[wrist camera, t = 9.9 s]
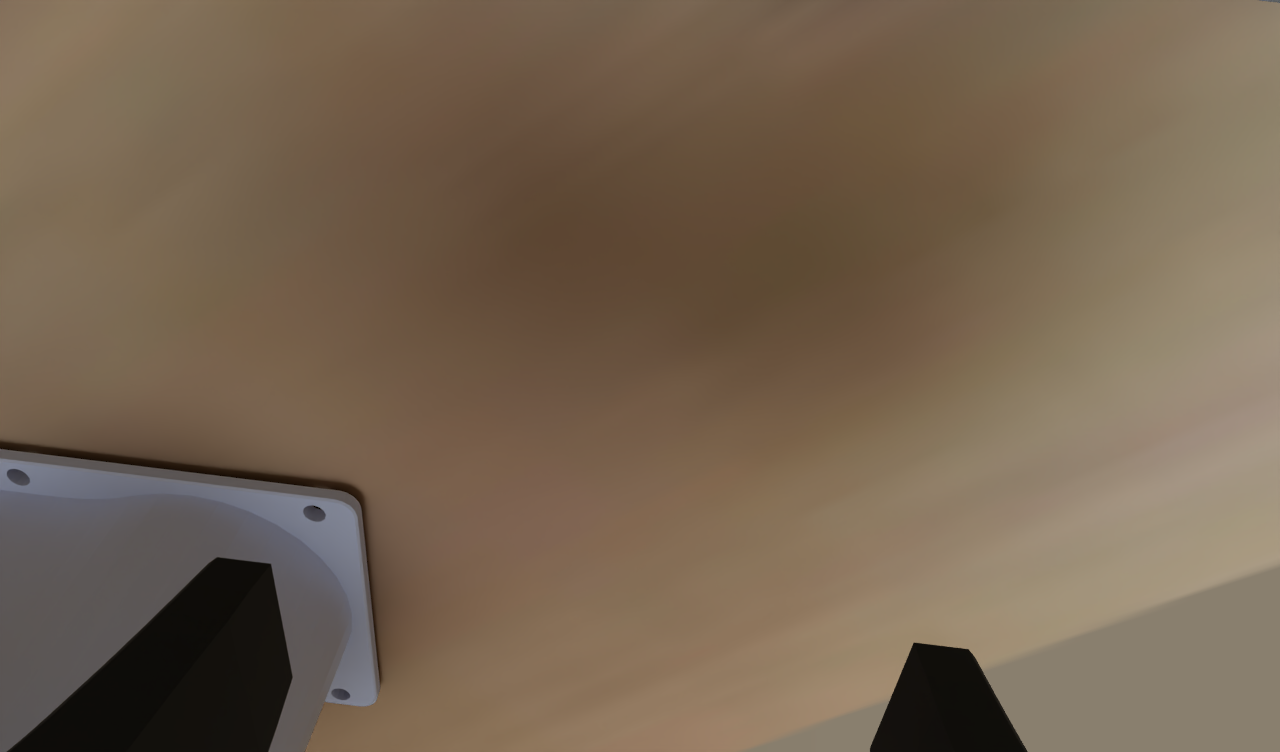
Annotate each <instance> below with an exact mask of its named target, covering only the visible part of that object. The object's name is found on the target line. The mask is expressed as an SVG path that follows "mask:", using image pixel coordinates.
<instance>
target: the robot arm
mask: <svg viewBox="0 0 1280 752" xmlns="http://www.w3.org/2000/svg"><path fill="white" fill-rule="evenodd" d="M312 505H314V506H317V507H320V508H321V509H322V510H320V509H317V508H315V507H313V506H312ZM379 691H380V681H379V672H378V662H377V653H376V643H375V634H374V624H373V615H372V605H371V595H370V586H369V576H368V567H367V557H366V548H365V538H364V529H363V519H362V510H361V506H360V503H359V502H358V501H357V500H356V498H355V497H354V496H352V495H350V494H349V493H347V492H343V491H339V490H331V489H322V488H314V487H306V486H298V485H290V484H282V483H274V482H265V481H257V480H249V479H241V478H233V477H225V476H216V475H208V474H200V473H192V472H184V471H176V470H167V469H159V468H151V467H143V466H135V465H127V464H118V463H110V462H102V461H94V460H86V459H78V458H69V457H61V456H53V455H45V454H37V453H29V452H20V451H12V450H4V449H0V752H305V750H306V748H307V745H308V743H309V740H310V738H311V735H312V733H313V730H314V727H315V725H316V722H317V720H318V717H319V715H320V712H321V710H322V707H323V705H324V702H329V703H337V704H345V705H354V706H369V705H372V704H374V703H375V702H376V700H377V697H378V694H379ZM870 752H1027V750H1026V748H1025V746H1024V745H1023V743H1022V741H1021V740H1020V738H1019V736H1018V734H1017V733H1016V731H1015V729H1014V727H1013V725H1012V724H1011V722H1010V720H1009V718H1008V717H1007V715H1006V713H1005V711H1004V709H1003V708H1002V706H1001V704H1000V702H999V700H998V699H997V697H996V695H995V694H994V691H993V690H992V688H991V686H990V684H989V682H988V680H987V679H986V677H985V675H984V673H983V671H982V669H981V668H980V666H979V664H978V662H977V660H976V658H975V657H974V656H973V654H972V653H971V652H970V651H969V649H962V648H953V647H945V646H937V645H929V644H921V643H913V646H912V648H911V651H910V653H909V656H908V658H907V660H906V663H905V665H904V668H903V670H902V672H901V675H900V677H899V680H898V682H897V684H896V687H895V689H894V692H893V694H892V697H891V699H890V701H889V704H888V706H887V709H886V711H885V713H884V716H883V718H882V721H881V723H880V726H879V728H878V731H877V733H876V735H875V738H874V740H873V742H872V745H871V748H870Z"/></svg>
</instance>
